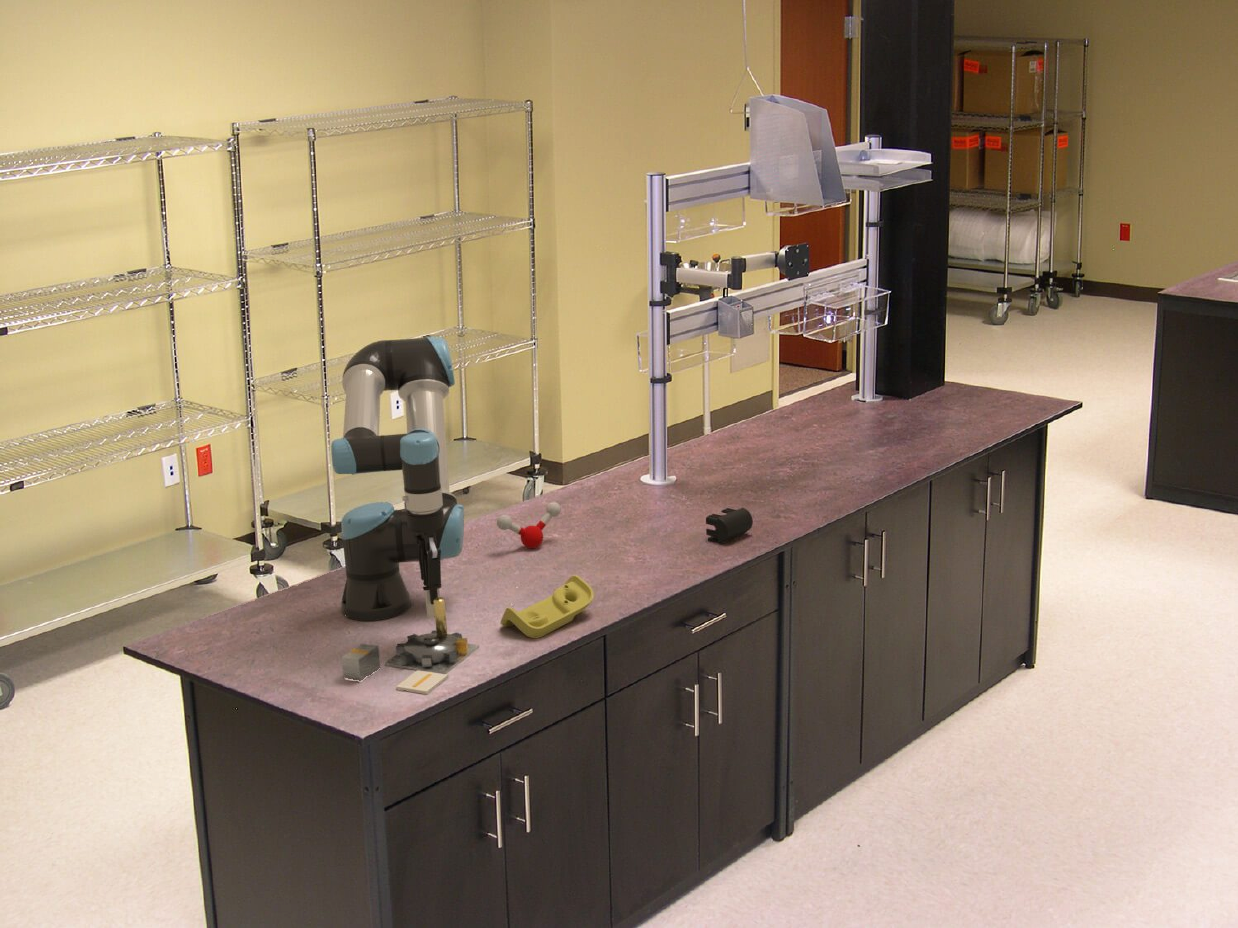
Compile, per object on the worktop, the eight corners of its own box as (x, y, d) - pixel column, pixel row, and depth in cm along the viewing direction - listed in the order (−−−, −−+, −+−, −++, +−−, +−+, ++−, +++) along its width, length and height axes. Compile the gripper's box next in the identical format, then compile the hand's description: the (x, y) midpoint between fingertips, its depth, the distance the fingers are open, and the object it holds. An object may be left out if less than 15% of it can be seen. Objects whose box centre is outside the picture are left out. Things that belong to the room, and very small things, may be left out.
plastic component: (534, 631, 305) (503, 602, 309) (528, 656, 309) (497, 627, 314) (602, 597, 317) (571, 569, 322) (595, 621, 322) (565, 593, 327)
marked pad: (396, 689, 286) (395, 685, 286) (418, 672, 293) (417, 669, 293) (427, 694, 283) (426, 690, 283) (448, 677, 290) (448, 674, 290)
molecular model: (553, 535, 369) (550, 497, 366) (567, 541, 365) (565, 502, 362) (496, 553, 358) (493, 514, 356) (510, 559, 354) (507, 519, 351)
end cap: (728, 546, 355) (727, 520, 353) (705, 541, 360) (704, 514, 358) (753, 535, 362) (752, 509, 360) (731, 530, 367) (730, 504, 365)
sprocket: (384, 661, 297) (380, 615, 294) (421, 635, 309) (416, 591, 306) (444, 670, 292) (440, 623, 289) (479, 643, 304) (475, 598, 301)
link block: (343, 680, 292) (341, 656, 290) (363, 666, 298) (361, 643, 296) (361, 683, 290) (358, 659, 289) (380, 669, 296) (378, 645, 295)
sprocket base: (384, 665, 297) (384, 663, 297) (421, 639, 310) (421, 636, 309) (444, 674, 292) (444, 672, 292) (479, 647, 304) (479, 644, 304)
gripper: (399, 503, 306) (409, 609, 313) (413, 520, 295) (423, 630, 301) (434, 497, 309) (444, 602, 315) (450, 514, 297) (459, 623, 304)
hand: (434, 616), depth 308 cm, fingers closed
